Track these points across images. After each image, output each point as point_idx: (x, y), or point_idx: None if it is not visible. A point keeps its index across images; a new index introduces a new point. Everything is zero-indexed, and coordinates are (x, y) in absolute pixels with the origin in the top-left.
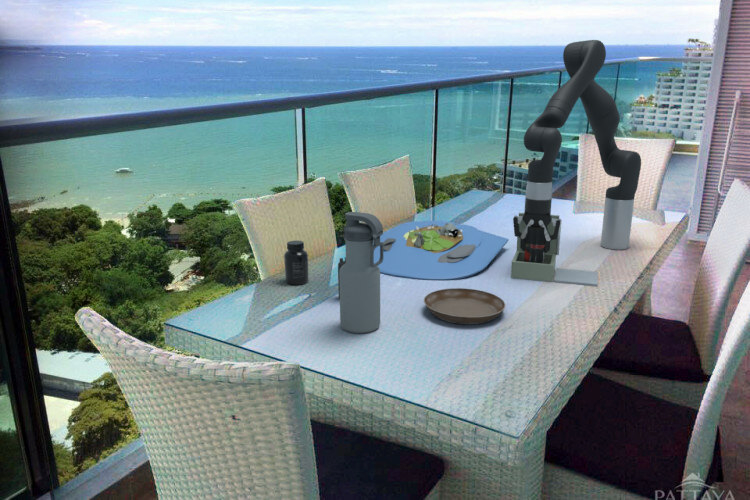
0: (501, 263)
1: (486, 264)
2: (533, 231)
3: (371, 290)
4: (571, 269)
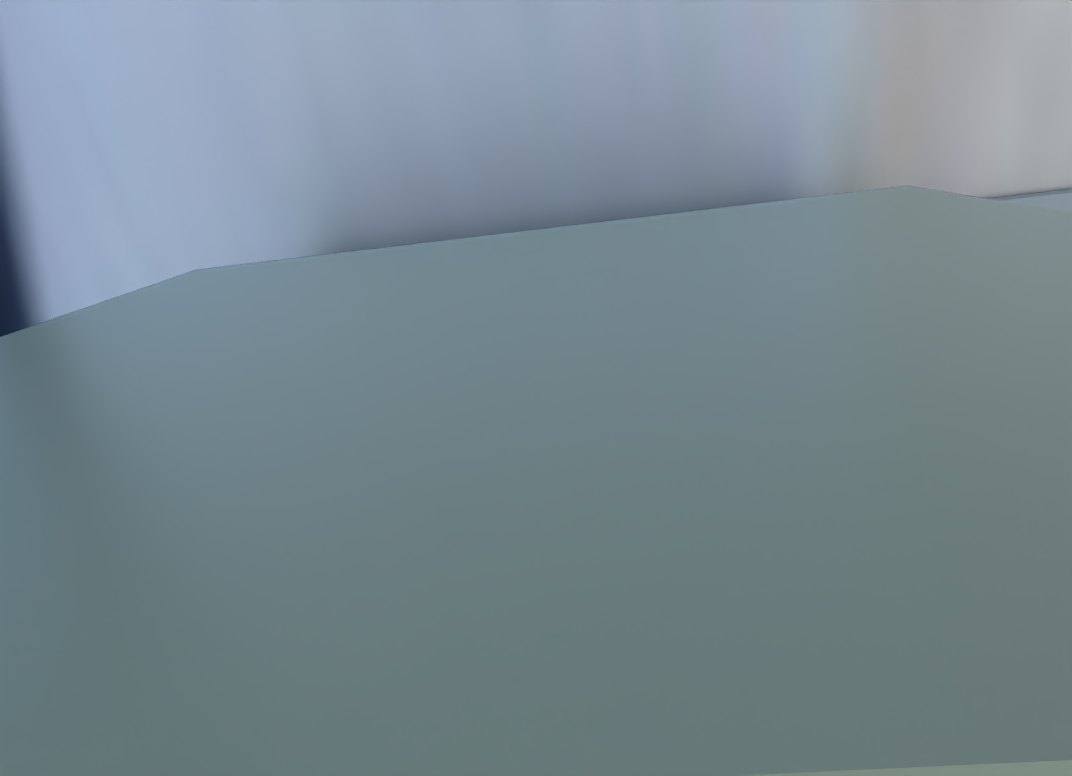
0: (112, 241)
1: None
2: None
3: None
4: (1068, 199)
